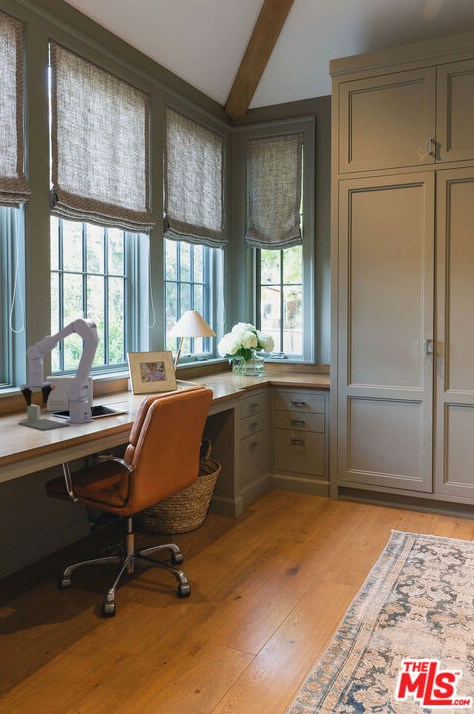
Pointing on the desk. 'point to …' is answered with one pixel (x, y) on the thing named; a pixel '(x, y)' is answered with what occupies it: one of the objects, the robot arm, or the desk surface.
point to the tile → (34, 412)
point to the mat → (44, 424)
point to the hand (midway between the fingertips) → (37, 404)
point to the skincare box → (64, 392)
